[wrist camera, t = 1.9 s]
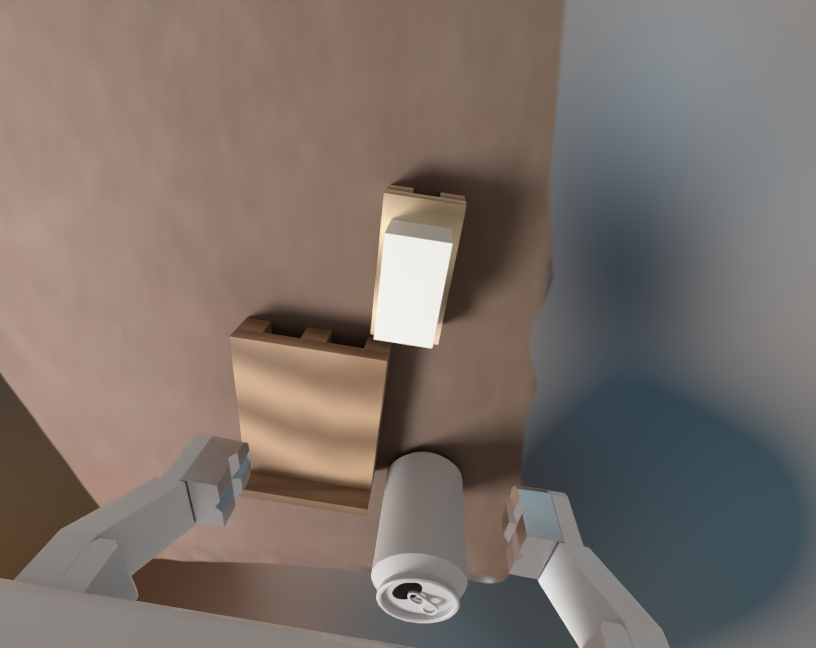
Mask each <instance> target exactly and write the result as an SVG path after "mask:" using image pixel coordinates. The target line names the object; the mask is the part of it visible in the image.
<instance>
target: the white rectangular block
mask: <svg viewBox="0 0 816 648" xmlns="http://www.w3.org/2000/svg"><path fill="white" fill-rule="evenodd" d="M452 245H453V238H452V228H445V227H439V226H432V225H426V224H419V223H413V222H406V221H400V220H393V219H391V221H390V223H389V225H388V227H387V229H386V231H385V234H384V243H383V253H382V263H381V272H380V282H379V292H378V302H377V311H376V321H375V331H374V340H380V341H386V342H393V343H399V344H405V345H412V346H418V347H424V348H431V349H432V347H433V342H434V337H435V332H436V327H437V322H438V317H439V311H440V306H441V301H442V296H443V291H444V286H445V281H446V276H447V271H448V266H449V260H450V255H451V250H452Z"/></svg>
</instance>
